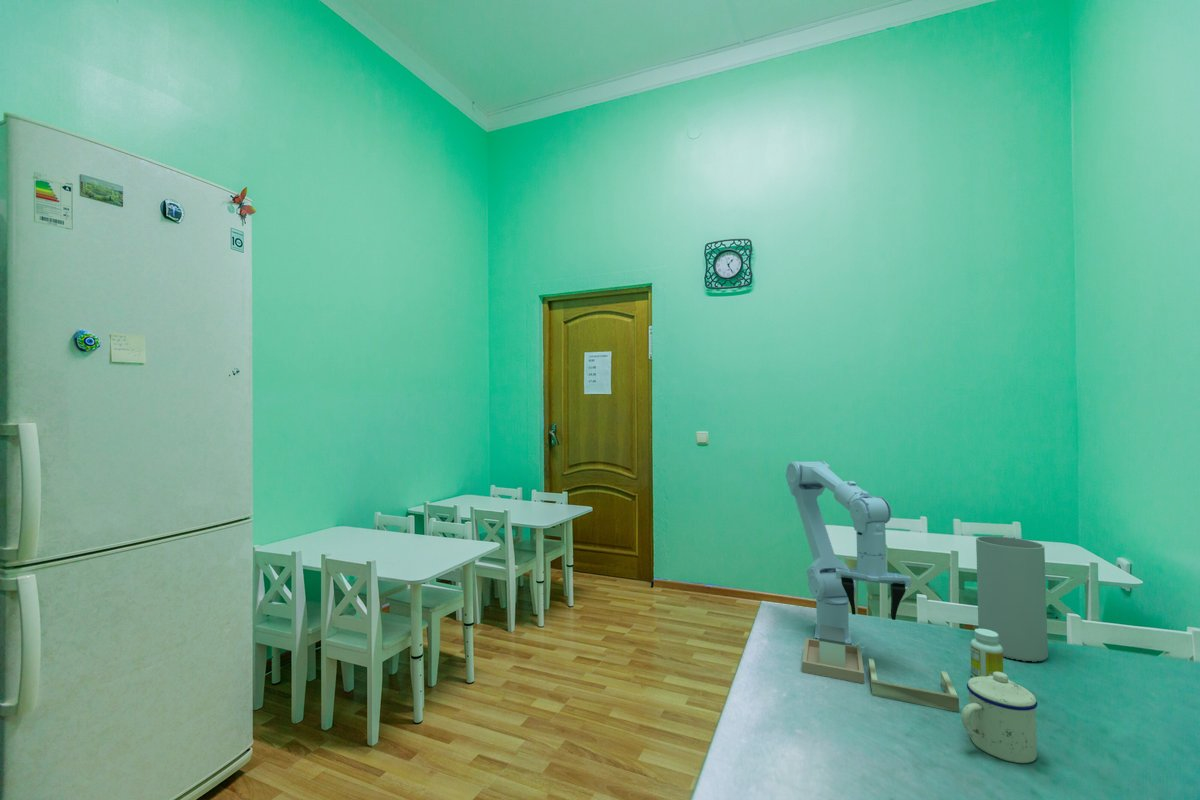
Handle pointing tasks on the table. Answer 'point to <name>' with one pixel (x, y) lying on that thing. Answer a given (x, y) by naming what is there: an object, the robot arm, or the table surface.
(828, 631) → the grey-green upright block
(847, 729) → the table surface
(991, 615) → the cylinder vase
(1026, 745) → the teacup with lid
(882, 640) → the table surface
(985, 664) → the supplement bottle
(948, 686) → the bay
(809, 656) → the tray
